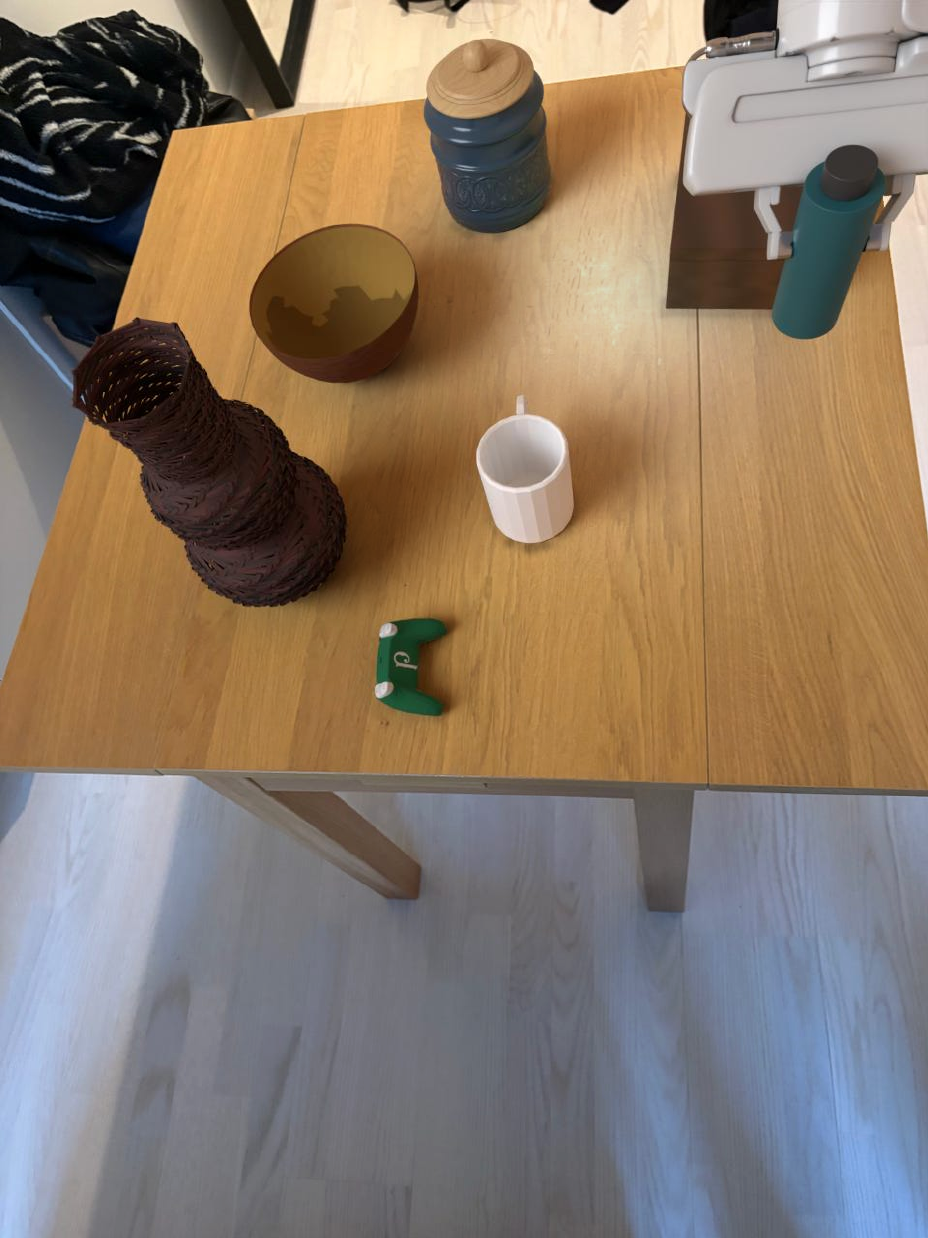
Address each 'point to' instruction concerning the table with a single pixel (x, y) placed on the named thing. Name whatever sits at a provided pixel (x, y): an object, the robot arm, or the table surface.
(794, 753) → the table surface
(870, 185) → the bottle
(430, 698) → the gaming controller
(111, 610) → the table surface
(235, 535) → the vase
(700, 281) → the wooden box
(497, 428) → the mug
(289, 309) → the bowl
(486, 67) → the canister
